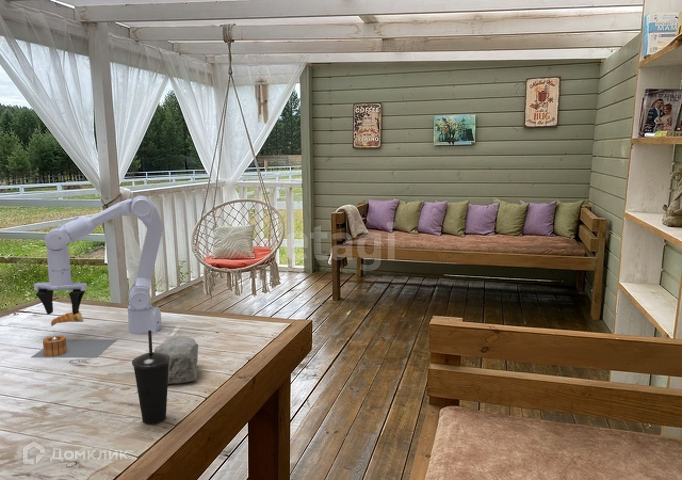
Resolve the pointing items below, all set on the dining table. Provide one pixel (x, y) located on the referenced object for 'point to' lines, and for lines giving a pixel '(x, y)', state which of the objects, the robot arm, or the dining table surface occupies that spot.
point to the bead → (54, 346)
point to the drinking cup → (152, 384)
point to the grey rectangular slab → (81, 348)
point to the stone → (180, 358)
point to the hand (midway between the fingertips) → (62, 313)
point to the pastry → (68, 318)
